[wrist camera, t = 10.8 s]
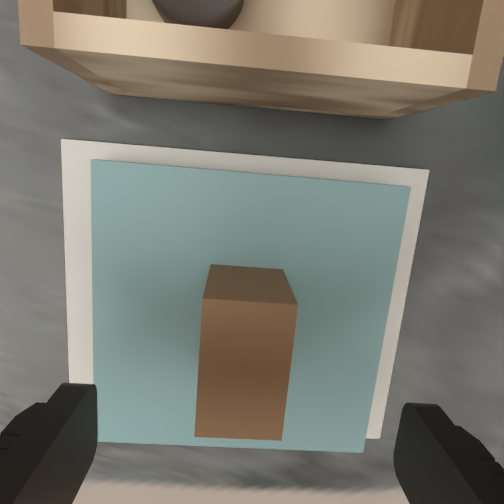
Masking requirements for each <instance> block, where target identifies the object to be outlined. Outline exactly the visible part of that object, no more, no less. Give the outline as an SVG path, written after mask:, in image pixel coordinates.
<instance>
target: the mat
mask: <svg viewBox="0 0 504 504" xmlns="http://www.w3.org/2000/svg"><path fill="white" fill-rule="evenodd" d="M61 154H62V183H63V212H64V241H65V270H66V299H67V328H68V357H69V383H82V384H93V315H92V235H91V159H100V160H112V161H123V162H135V163H146V164H158V165H169V166H181V167H193V168H204V169H216V170H227V171H239V172H250V173H262V174H273V175H285V176H297V177H308V178H320V179H331V180H343V181H354V182H366V183H377V184H389V185H401V186H408V187H411V191H410V196H409V202H408V207H407V213H406V218H405V224H404V229H403V235H402V240H401V246H400V252H399V257H398V263H397V268H396V274H395V279H394V285H393V290H392V296H391V301H390V307H389V312H388V318H387V323H386V329H385V334H384V340H383V346H382V351H381V357H380V362H379V368H378V373H377V379H376V384H375V390H374V395H373V401H372V406H371V412H370V417H369V423H368V428H367V434H366V438H370V439H380V435H381V429H382V424H383V418H384V413H385V408H386V402H387V397H388V391H389V386H390V381H391V375H392V370H393V364H394V359H395V354H396V348H397V343H398V337H399V332H400V327H401V321H402V316H403V310H404V305H405V300H406V294H407V289H408V283H409V278H410V273H411V267H412V262H413V256H414V251H415V246H416V240H417V235H418V229H419V224H420V219H421V213H422V208H423V202H424V197H425V192H426V186H427V181H428V175H429V170H425V169H413V168H401V167H389V166H378V165H366V164H354V163H342V162H330V161H318V160H306V159H295V158H283V157H271V156H259V155H247V154H235V153H223V152H211V151H200V150H188V149H176V148H164V147H152V146H140V145H128V144H117V143H105V142H93V141H81V140H69V139H61Z"/></svg>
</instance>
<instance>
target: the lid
mask: <svg viewBox="0 0 504 504" xmlns="http://www.w3.org/2000/svg"><path fill="white" fill-rule="evenodd" d="M410 191H411V187H408V186H401V185H389V184H377V183H366V182H354V181H343V180H331V179H320V178H308V177H297V176H285V175H273V174H262V173H250V172H239V171H227V170H216V169H204V168H193V167H181V166H169V165H158V164H146V163H135V162H123V161H112V160H100V159H91V235H92V315H93V384H95V385H96V388H97V412H98V441H97V442H118V443H141V444H165V445H189V446H212V447H236V448H260V449H283V450H307V451H331V452H354V453H363V451H364V445H365V440H366V434H367V428H368V423H369V417H370V412H371V406H372V401H373V395H374V390H375V384H376V379H377V373H378V368H379V362H380V357H381V351H382V346H383V340H384V334H385V329H386V323H387V318H388V312H389V307H390V301H391V296H392V290H393V285H394V279H395V274H396V268H397V263H398V257H399V252H400V246H401V240H402V235H403V229H404V224H405V218H406V213H407V207H408V202H409V196H410Z"/></svg>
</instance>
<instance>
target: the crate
mask: <svg viewBox="0 0 504 504" xmlns="http://www.w3.org/2000/svg"><path fill="white" fill-rule="evenodd" d="M18 10H19V28H20V45H22V46H24V47H26V48H27V49H29V50H31V51H33V52H35V53H37V54H39V55H40V56H42V57H44V58H46V59H48V60H50V61H52V62H53V63H55V64H57V65H59V66H61V67H63V68H65V69H66V70H68V71H70V72H72V73H74V74H76V75H78V76H79V77H81V78H83V79H85V80H87V81H89V82H91V83H92V84H94V85H96V86H98V87H100V88H102V89H104V90H105V91H107V92H109V93H111V94H116V95H127V96H138V97H149V98H159V99H170V100H181V101H192V102H203V103H214V104H225V105H236V106H247V107H257V108H268V109H279V110H290V111H301V112H312V113H323V114H334V115H345V116H355V117H366V118H377V119H388V120H390V119H394V118H398V117H401V116H405V115H409V114H413V113H416V112H420V111H424V110H428V109H431V108H435V107H439V106H443V105H446V104H450V103H454V102H458V101H461V100H465V99H469V98H473V97H476V96H480V95H484V94H488V93H491V92H495V91H496V88H497V83H498V78H499V74H500V69H501V64H502V60H503V55H504V0H18Z"/></svg>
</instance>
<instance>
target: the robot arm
mask: <svg viewBox="0 0 504 504" xmlns="http://www.w3.org/2000/svg"><path fill="white" fill-rule="evenodd" d="M97 441H98V412H97V388H96V385H95V384H82V383H63V384H61V385H60V386H59V388H58V389H57V390H56V391H55V393H54V394H53V395H52V396H51V398H50V399H49V400H48V401H47V403H38V402H37V403H35V404H33V405H32V406H30V407H29V408H27V409H26V410H24V411H23V412H21V413H20V414H18V415H16V416H15V417H14V418H13V420H12V421H11V422H10V423H9V424H8V425H7V426H6V428H5V429H4V430H3V431H2V432H1V435H0V504H72V503H73V501H74V499H75V497H76V495H77V493H78V491H79V488H80V486H81V484H82V482H83V480H84V478H85V476H86V474H87V472H88V470H89V468H90V466H91V464H92V462H93V459H94V456H95V452H96V447H97ZM394 468H395V472H396V476H397V479H398V481H399V483H400V485H401V487H402V489H403V491H404V493H405V495H406V497H407V499H408V501H409V503H410V504H504V469H503V468H502V467H501V465H500V464H499V463H498V462H495V458H494V457H493V456H492V455H491V454H490V452H489V451H488V450H487V449H486V448H485V446H484V445H483V444H482V443H481V442H480V441H479V440H478V439H476V438H475V437H474V436H472V435H471V434H470V433H468V432H467V431H466V430H464V429H463V428H462V427H460V426H455V425H454V424H453V422H452V421H451V420H450V419H449V417H448V416H447V415H446V414H445V412H444V411H443V410H442V409H441V408H440V407H439V406H438V405H436V404H423V403H406V404H405V405H404V407H403V410H402V414H401V419H400V424H399V429H398V434H397V439H396V444H395V449H394Z"/></svg>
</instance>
